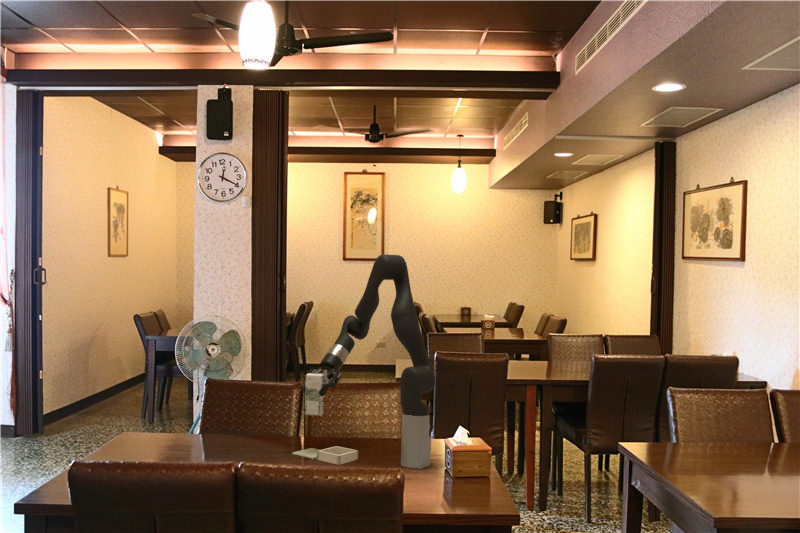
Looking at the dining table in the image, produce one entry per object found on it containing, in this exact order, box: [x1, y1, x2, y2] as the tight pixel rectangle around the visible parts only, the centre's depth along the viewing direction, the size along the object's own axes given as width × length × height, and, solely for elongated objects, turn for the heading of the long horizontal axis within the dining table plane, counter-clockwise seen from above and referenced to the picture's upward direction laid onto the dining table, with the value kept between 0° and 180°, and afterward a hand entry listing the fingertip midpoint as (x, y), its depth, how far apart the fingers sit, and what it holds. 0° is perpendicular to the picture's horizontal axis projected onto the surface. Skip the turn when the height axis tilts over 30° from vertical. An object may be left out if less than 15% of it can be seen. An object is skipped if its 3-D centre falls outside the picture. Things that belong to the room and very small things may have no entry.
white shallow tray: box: [291, 445, 359, 466], centre depth 215 cm, size 22×13×3 cm, turn 55°
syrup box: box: [304, 372, 325, 417], centre depth 220 cm, size 6×6×14 cm
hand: (312, 393), depth 218 cm, fingers closed on syrup box, 7 cm apart
